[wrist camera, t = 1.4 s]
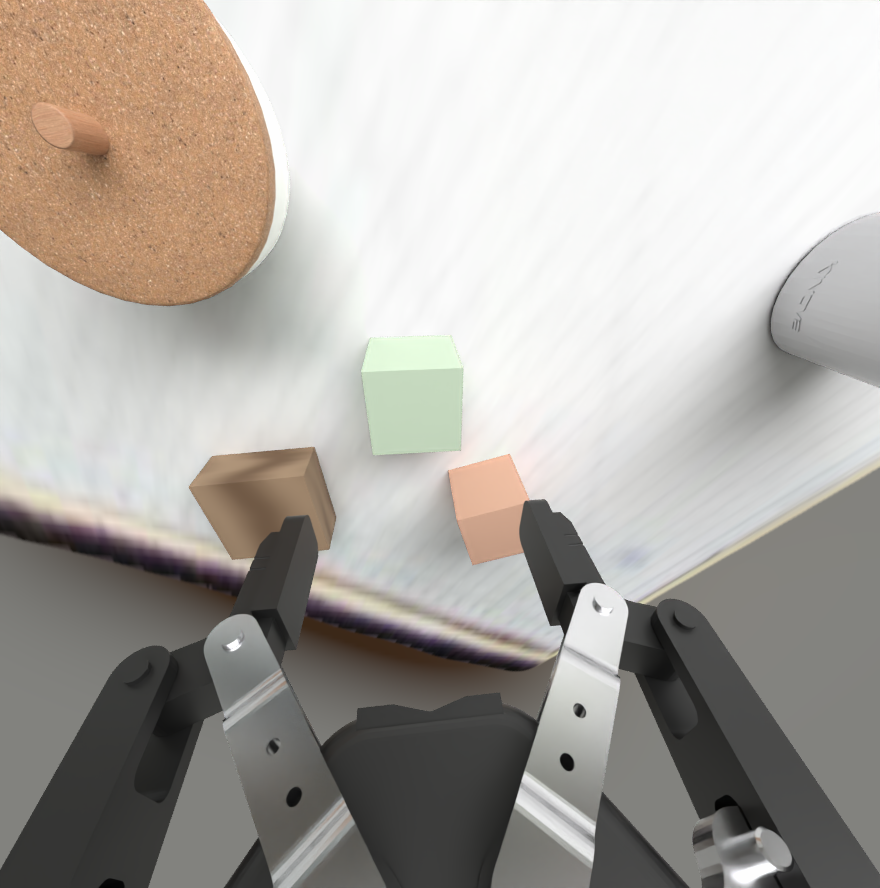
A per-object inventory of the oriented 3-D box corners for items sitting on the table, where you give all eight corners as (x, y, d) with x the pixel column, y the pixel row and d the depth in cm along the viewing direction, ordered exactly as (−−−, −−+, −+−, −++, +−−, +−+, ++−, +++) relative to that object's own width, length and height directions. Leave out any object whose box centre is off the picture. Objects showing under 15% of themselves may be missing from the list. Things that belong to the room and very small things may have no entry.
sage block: (450, 334, 24) (463, 367, 19) (450, 406, 27) (460, 450, 22) (370, 337, 24) (361, 372, 19) (378, 409, 27) (372, 455, 22)
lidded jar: (15, 28, 15) (-405, -166, 7) (258, -26, 15) (96, -287, 7) (167, 292, 21) (29, 342, 13) (341, 257, 21) (304, 286, 13)
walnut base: (315, 444, 28) (303, 476, 25) (336, 515, 33) (329, 549, 29) (213, 454, 28) (188, 487, 25) (249, 523, 32) (232, 559, 29)
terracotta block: (509, 453, 30) (530, 501, 25) (518, 497, 33) (538, 548, 28) (448, 470, 31) (456, 520, 26) (462, 512, 34) (472, 565, 29)
